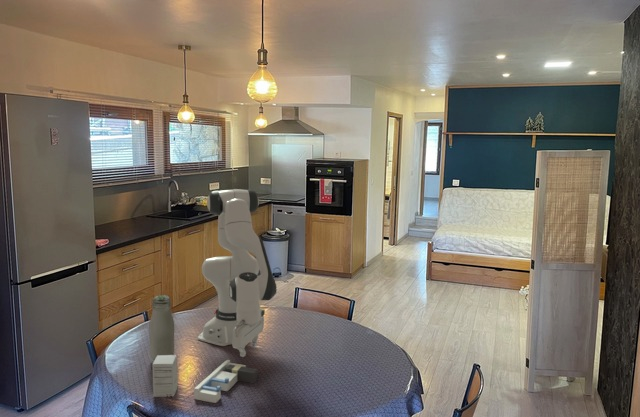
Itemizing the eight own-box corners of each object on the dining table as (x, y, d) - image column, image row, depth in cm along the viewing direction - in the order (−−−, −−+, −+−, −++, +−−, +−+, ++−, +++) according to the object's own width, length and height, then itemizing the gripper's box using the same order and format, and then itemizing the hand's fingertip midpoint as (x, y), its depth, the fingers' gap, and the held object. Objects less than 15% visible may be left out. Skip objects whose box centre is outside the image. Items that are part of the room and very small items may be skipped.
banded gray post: (225, 378, 186) (225, 368, 185) (229, 373, 189) (229, 364, 189) (253, 383, 182) (253, 373, 182) (257, 378, 186) (257, 368, 185)
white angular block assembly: (194, 399, 170) (194, 386, 170) (226, 369, 193) (226, 358, 192) (215, 403, 168) (215, 390, 167) (246, 372, 191) (245, 361, 190)
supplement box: (157, 387, 178) (156, 354, 176) (178, 386, 179) (177, 354, 177) (152, 397, 171) (151, 364, 169) (174, 396, 172) (173, 363, 170)
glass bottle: (152, 368, 193) (150, 301, 189) (148, 358, 202) (146, 293, 198) (177, 363, 197) (175, 297, 193) (172, 353, 206) (171, 290, 202)
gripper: (243, 326, 170) (243, 363, 172) (266, 308, 190) (266, 342, 191) (227, 324, 172) (228, 361, 174) (252, 307, 192) (252, 340, 193)
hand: (248, 351), depth 183 cm, fingers open, 8 cm apart
